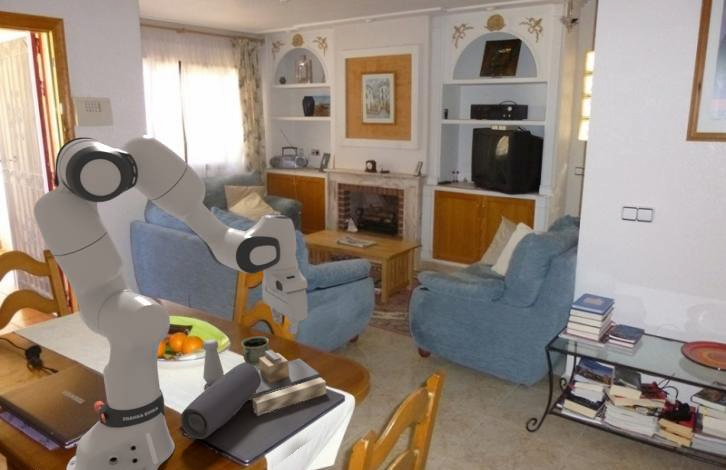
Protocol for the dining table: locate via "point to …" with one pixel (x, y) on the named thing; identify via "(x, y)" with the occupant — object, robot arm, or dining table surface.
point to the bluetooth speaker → (220, 401)
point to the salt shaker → (212, 362)
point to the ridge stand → (282, 372)
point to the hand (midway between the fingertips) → (285, 327)
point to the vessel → (254, 349)
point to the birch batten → (290, 395)
